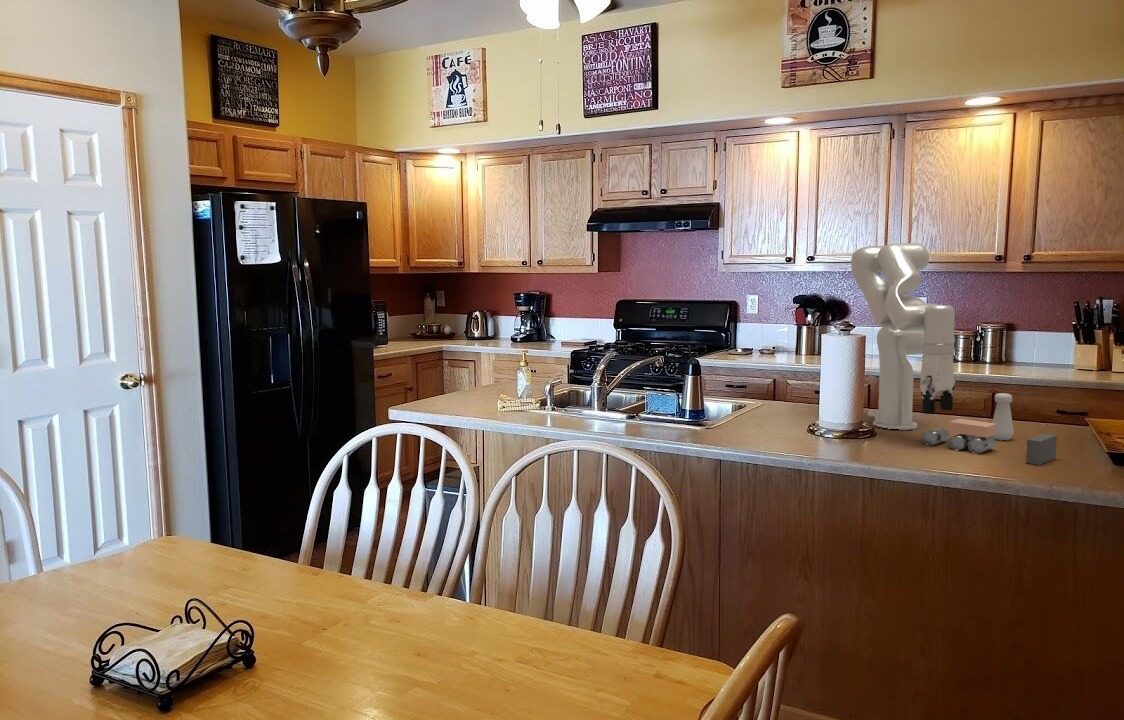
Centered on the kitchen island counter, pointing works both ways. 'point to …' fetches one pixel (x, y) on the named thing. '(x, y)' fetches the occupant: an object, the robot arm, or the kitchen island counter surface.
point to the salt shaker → (1003, 417)
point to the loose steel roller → (935, 436)
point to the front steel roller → (981, 444)
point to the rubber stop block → (1041, 449)
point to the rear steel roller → (960, 441)
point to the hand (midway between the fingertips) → (937, 411)
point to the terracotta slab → (972, 427)
